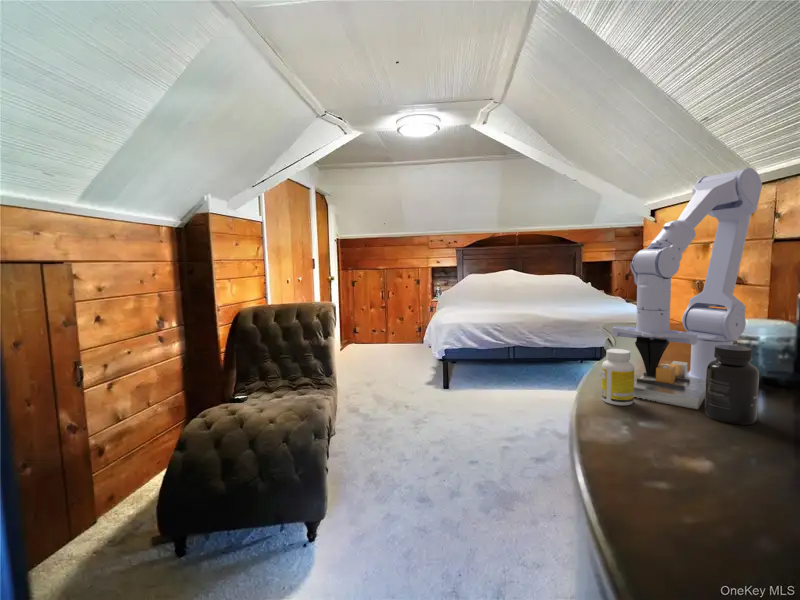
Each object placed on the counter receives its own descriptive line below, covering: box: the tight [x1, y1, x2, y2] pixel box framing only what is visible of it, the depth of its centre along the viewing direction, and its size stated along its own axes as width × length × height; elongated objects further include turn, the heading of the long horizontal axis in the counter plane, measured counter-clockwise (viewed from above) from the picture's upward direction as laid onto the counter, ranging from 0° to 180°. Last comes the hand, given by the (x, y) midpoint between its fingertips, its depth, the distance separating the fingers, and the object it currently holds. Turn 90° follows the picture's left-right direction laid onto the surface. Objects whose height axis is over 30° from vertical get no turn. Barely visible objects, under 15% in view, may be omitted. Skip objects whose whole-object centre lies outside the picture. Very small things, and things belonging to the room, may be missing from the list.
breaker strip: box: [634, 360, 706, 410], centre depth 81 cm, size 14×11×5 cm
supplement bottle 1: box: [601, 348, 635, 407], centre depth 77 cm, size 5×5×10 cm
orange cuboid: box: [656, 363, 676, 384], centre depth 82 cm, size 4×2×3 cm, turn 136°
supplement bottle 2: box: [704, 344, 760, 426], centre depth 68 cm, size 7×7×12 cm
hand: (651, 374), depth 83 cm, fingers closed
